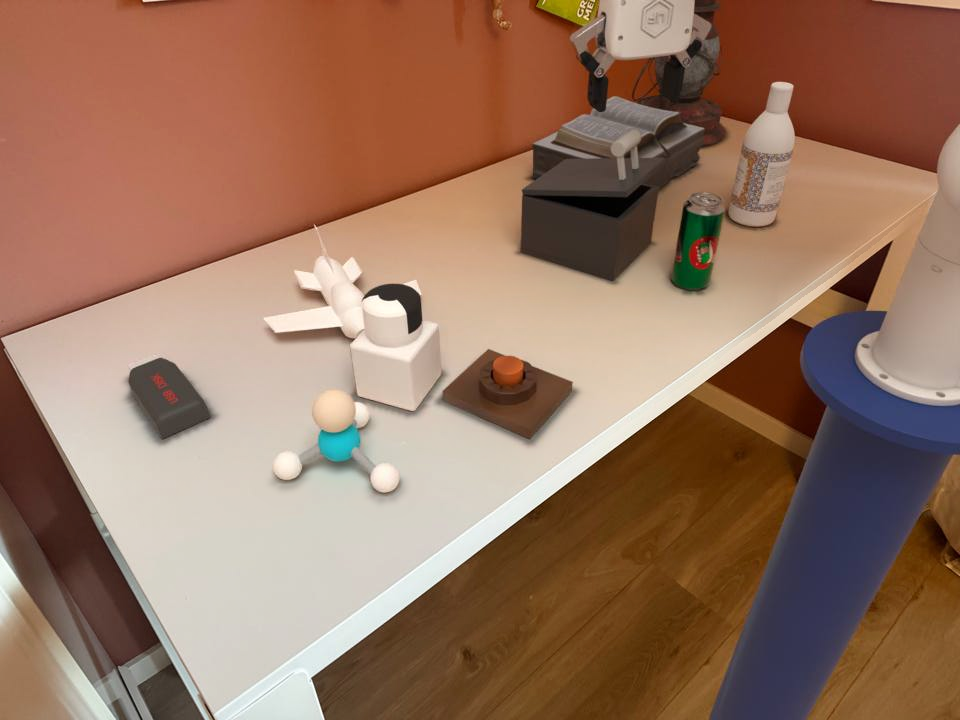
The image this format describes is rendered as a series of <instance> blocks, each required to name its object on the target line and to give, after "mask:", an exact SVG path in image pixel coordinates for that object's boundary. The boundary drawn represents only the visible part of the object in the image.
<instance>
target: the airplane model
mask: <svg viewBox="0 0 960 720" xmlns="http://www.w3.org/2000/svg"><path fill="white" fill-rule="evenodd" d="M313 226H314V230H315V232H316V236H317V239H318V242H319V246H320V250H321V252H322V255H320V256H318V257H317V258H316V260H315V261H314V265H313V269H312V272H309V271H302V270H296V269H294V270H293V272H294V274H295V278H296V279H297V281H298V282H297V283H298V284H299V286H300V288H301V289H303V290H310V291H315V292H320V294H321V295H322V297H323V299H324V301H325V302H326V304H327V306H322V307H321V306H320V307H316V308H311V309H305V310H300V311H299V310H298V311H293V312H289V313H283V314H277V315H272V316H271V315H270V316H266V317H262V319H263V320H264V322H265V323H266V324H267V325H268V326H269V327H270V329H271V330H272V331H273V333H274V334H282V333H290V332H300V331H309V330H319V329H329V328H340V329H341V331H342V333H343V334H344V335H345V337H347V338H350V339H356V338H357V337H358V336H359V334H360V333H361V332H362V331H363V330H364V329H365V326H364V318H363V311H362V299H363V297H364V296H365V294H364V293H363V292H362V291H361V290H360V289H359V288H358V287H357V286H356V285H355V284H354V283H355V282H356V281H357V280H358V279H360V278H361V276H363V274H364V271H363V270H362V269H361V267H360V266H359V264H358V263H357V261H356V259H355V258H354V256H351V257H350V258H349V259H348V260H347V261H346V262H345V263H344V264H343V265H342V264H341V263H340V262H339V261H337V260H335V259H334V258H332V257H330V256H329V255H328V252H327V249H326V247H325V244H324V242H323V240H322V237H321V235H320V232H319V229H318V227H317V226H316V225H315V224H313ZM402 284H403V285H407V286H410V287H412V288H413V289H415V290H416V291H417V292H418V293H419V294H420V297H422V295H423V294H422V291H421V289H420V286H419V284H418V281H417V279H414V280H411V281H408V282H405V283H402Z"/></svg>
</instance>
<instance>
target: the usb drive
mask: <svg viewBox="0 0 960 720" xmlns="http://www.w3.org/2000/svg"><path fill="white" fill-rule="evenodd" d="M127 367H128V370H129V375H128V385H129V389H130V390H131V393H132V395H133V397H134V400H135V401H136V403H137V404H138V405H139V407H140V408H141V410H142V412H143V413H144V415H145V416H146V418H147V419H148V421H149V422H150V424H151V425H152V427H153V429H154V430H155V432H156V433H157V435H158V436H159V437H160V439H161V440H164V439H166V438H168V437H170V436H172V435H175V434H177V433H179V432H181V431H183V430H187V429H188V428H190V427H192V426H195V425H196V424H199V423H201V422H204V421H206V420H208V419H210V418H211V415H210V412H209V409H208V406H207V404H206V402H205V400H204V399H203V398H202V397H201V395H200V394H199V393H198V392H197V389H196V388H195V387H194V386H193V385H192V384H191V382H190V380H188V378H187V377H186V376H185V374H184V373H183V372H182V370H181V369H180V368H179V367H178V365H177V364H176V363H175V362H173V361H171V360H169V359H167V358H163V357H160V356H159V355H158V354H157V353H155V354H153V355H149V356H147V357H144V358H142V359H139V360H137V361H135V362H131V363H129V364H128V365H127Z"/></svg>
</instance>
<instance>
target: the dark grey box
mask: <svg viewBox="0 0 960 720" xmlns="http://www.w3.org/2000/svg"><path fill="white" fill-rule="evenodd" d="M659 190H660V189H659V187H658V186H654V185H650V184H646V183H643V184H641V185H640V186H639V187H638V188H637V189H636V190H635V191H633V192H632V193H631V194H630V195H629V196H628V197H591V196H546V195H523V194H521V221H520V222H521V225H520V227H521V228H520V253H521V254H525V255H528V256H532V257H534V258H537V259H541V260H544V261H548V262H551V263H554V264H557V265H560V266H563V267H567V268H570V269H573V270H577V271H579V272H583V273H584V274H585V273H586V274H589V275H592V276H595V277H599V278H602V279H604V280H608V281H611V282H614V281H615V280H616V279H617V278H618V277H619V276H620V275H621V274H622V273H623V272H624V271H625V270H626V269H627V268H628V266H630V265H631V263H633V262H634V260H636V259H637V258H638V256H639V255H641V254H642V253H643V252H644V251H645V250H646V248H647V247H649V245H650V244H651V243H652V237H653V231H654V223H655V216H656V211H657V203H658V197H659Z"/></svg>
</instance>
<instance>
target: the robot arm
mask: <svg viewBox="0 0 960 720" xmlns="http://www.w3.org/2000/svg"><path fill="white" fill-rule="evenodd" d="M598 3H599V4H598V11H597V16H596V17H595V18H593V19H592V20H591V21H589V22H588V23H586V24H585V25H583V26H582V27H580V28H579V29H577V30H576V31H574V32H573V33H572V34H571V35H570V37H569V42H570V44H571V47H572V49H573V52H574V53H575V57H576V59H577V61H578V62H579V63H580V64H581V65H582V66H583V67H584V68H585V71H586V72H588V81H587V82H588V83H587V95H586V98H587V102H588V104H589V106H590V107H591V108H592V109H593V108H594V109H596V110H597V111H598V112H604V111H605V110H606V103H607V99H608V90H609V80H610V79H609V77H608V76H607V75H606V73H607V71H608V70H609V69H610V68H611V66H612V65H613V64H614V62H615V61H616V60H618V61H632V60H633V61H635V60H643V59H649V58H652V59H653V57H660V56H669V58H670V61H666V64H665V67H664V74H663V81H662V88H661V93H660V94H661V95H662V96H663V97H665V98H667V99H668V100H670V101H672V102H673V103H674V102H678V101H679V96H680V92H681V90H682V85H683V79H684V72H685V67H688V66H689V65H690V63H691V59H692V58H693V57H694V56H695V55H696V53H697V52H698V51H699V50H700V49H701V47H702V42H703V41H704V40H705V38H706V36H707V35H708V33H709V31H710V29H711V26H712V25H711V23H710V22H708V21H706V20H705V19H703V18H701V17H700V16H698V15H696V14H695V13H694V3H695V0H599V2H598ZM692 28H693V32H692ZM691 33H692V34H691ZM594 38H595V47H596V49H595V51H594V52H593V54H592V53H590V51H589V46H588V43H589V41H591V40H593V39H594ZM944 142H945V143H944V144H943V145H942V149H941V150H940V153H939V157H938V161H937V168H936V179H937V184H938V188H937V191H936V193H935V195H934V197H933V200H932V202H931V204H930V207H929V209H928V212H927V213H926V216H925V218H924V221H923V223H922V226H921V228H920V231H919V233H918V235H917V237H916V240H915V243H914V245H913V247H912V250H911V252H910V255H909V257H908V260H907V262H906V264H905V267H904V269H903V272H902V274H901V277H900V279H899V282H898V285H897V287H896V289H895V291H894V294H893V296H892V299H891V302H890V304H889V307H888V308H887V310H886V311H887V314H886V316H885V319H884V321H883V324H882V326H881V329H880V331H877V332H874V333H871V334H868V335H867V336H865V337H864V338H862V339H861V340H860V342H859V343H858V345H857V348H856V350H855V356H854V357H855V362H856V364H857V366H858V368H859V370H860V371H861V372H862V373H863V374H864V376H865V377H866V378H867V379H869V380H870V381H871V382H872V383H873V384H875V385H876V386H878V387H879V388H881V389H883V390H884V391H886V392H888V393H890V394H892V395H894V396H897V397H900V398H902V399H905V400H908V401H912V402H915V403H919V404H925V405H931V406H954V405H959V404H960V123H959V124H958V125H957V126H956V128H954V130H953V131H952V132H951V133H950V135H949V136H948V138H947V139H946V141H944Z"/></svg>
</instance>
